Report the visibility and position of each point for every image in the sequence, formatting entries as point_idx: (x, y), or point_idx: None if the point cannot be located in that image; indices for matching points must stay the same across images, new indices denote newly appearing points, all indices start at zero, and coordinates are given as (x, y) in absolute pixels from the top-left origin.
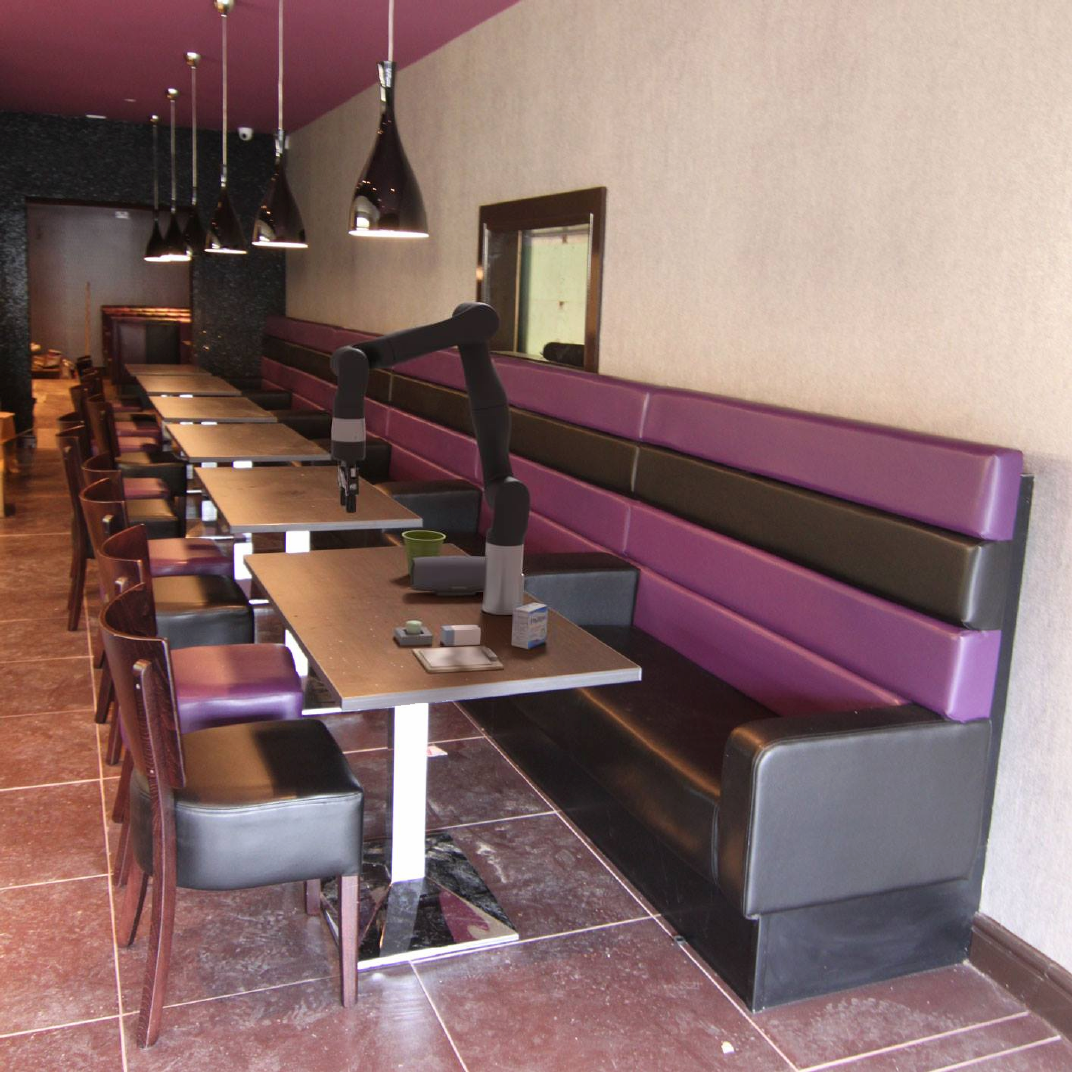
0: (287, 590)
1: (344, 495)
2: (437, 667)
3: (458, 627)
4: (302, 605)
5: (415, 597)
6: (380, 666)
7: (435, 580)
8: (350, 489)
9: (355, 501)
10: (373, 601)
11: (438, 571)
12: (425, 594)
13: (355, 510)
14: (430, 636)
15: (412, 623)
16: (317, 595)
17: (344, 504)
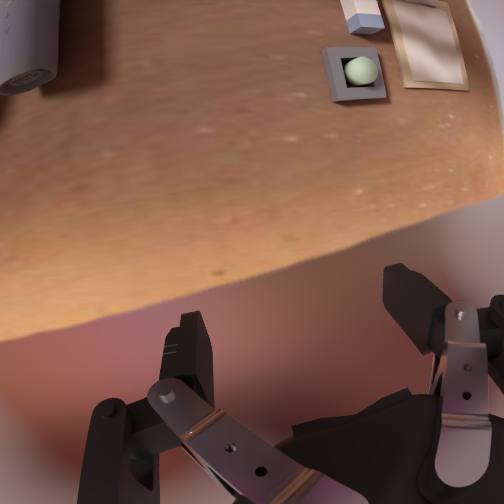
0: (72, 300)
1: (207, 371)
2: (462, 77)
3: (365, 4)
4: (150, 270)
5: (66, 75)
6: (451, 143)
7: (56, 33)
8: (500, 350)
9: (430, 291)
10: (99, 146)
11: (45, 24)
12: None
13: (402, 267)
14: (376, 51)
15: (368, 73)
16: (83, 252)
17: (205, 335)
